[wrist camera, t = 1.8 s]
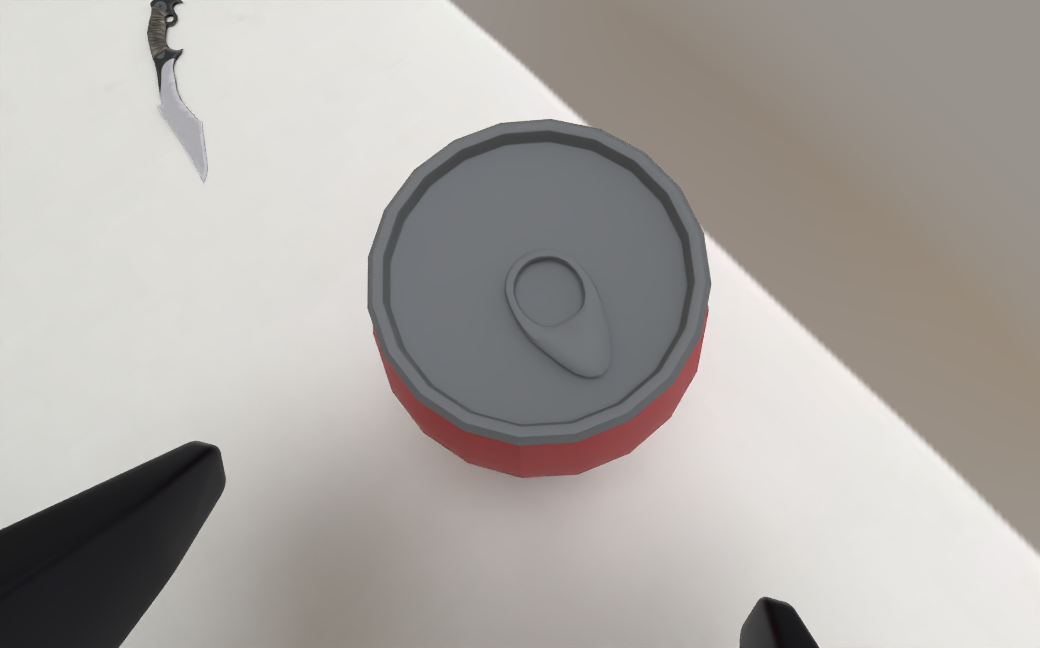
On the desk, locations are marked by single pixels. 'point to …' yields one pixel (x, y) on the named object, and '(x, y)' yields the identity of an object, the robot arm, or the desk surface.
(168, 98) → the knife
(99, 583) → the robot arm
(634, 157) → the beer can
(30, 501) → the desk surface
